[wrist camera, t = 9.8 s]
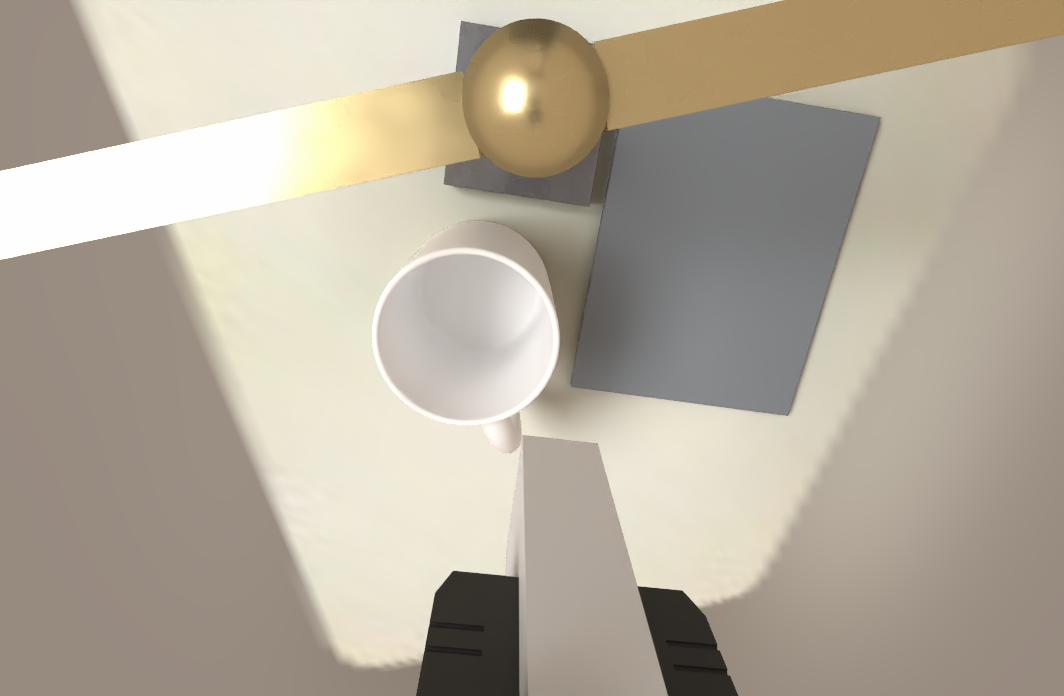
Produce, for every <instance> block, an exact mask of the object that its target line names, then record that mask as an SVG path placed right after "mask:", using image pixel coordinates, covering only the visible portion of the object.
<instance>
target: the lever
mask: <svg viewBox="0 0 1064 696" xmlns="http://www.w3.org/2000/svg"><path fill="white" fill-rule="evenodd" d="M1062 34H1064V0H784V1H780V2H775V3H771V4H766V5H761V6H757V7H752V8H748V9H743V10H738V11H734V12H729V13H725V14H720V15H716V16H711V17H706V18H702V19H697V20H693V21H688V22H683V23H679V24H674V25H670V26H665V27H661V28H656V29H651V30H647V31H642V32H638V33H633V34H628V35H624V36H619V37H615V38H610V39H606V40H601V41H596V42H594V43H593V45H592V46H591V45H590V44H589V43H588V41H587V40H586V39H585V38H584V37H582V36H581V35H580V34H579V33H578V32H576V31H575V30H573V29H571V28H570V27H568V26H566V25H564V24H561V23H559V22H555V21H552V20H546V19H525V20H520V21H516V22H513V23H510V24H508V25H506V26H504V27H502V28H500V29H499V30H497V31H496V32H494V33H493V34H492V35H490V36H489V37H488V38H487V39H486V40H485V41H484V42H483V43H482V44H481V46H480V47H479V48H478V49H477V51H476V52H475V54H474V55H473V57H472V59H471V61H470V63H469V65H468V68H467V71H466V74H465V75H464V74H463V73H462V71H459V72H454V73H450V74H445V75H441V76H436V77H431V78H427V79H422V80H418V81H413V82H408V83H404V84H399V85H395V86H390V87H386V88H381V89H376V90H372V91H367V92H363V93H358V94H353V95H349V96H344V97H340V98H335V99H331V100H326V101H321V102H317V103H312V104H308V105H303V106H298V107H294V108H289V109H285V110H280V111H276V112H271V113H266V114H262V115H257V116H253V117H248V118H243V119H239V120H234V121H230V122H225V123H221V124H216V125H211V126H207V127H202V128H198V129H193V130H188V131H184V132H179V133H175V134H170V135H166V136H161V137H156V138H152V139H147V140H143V141H138V142H133V143H129V144H124V145H120V146H115V147H111V148H106V149H102V150H97V151H92V152H88V153H84V154H78V155H74V156H69V157H65V158H60V159H56V160H51V161H46V162H42V163H37V164H33V165H28V166H23V167H19V168H15V169H10V170H5V171H1V172H0V259H5V258H10V257H14V256H19V255H24V254H28V253H33V252H37V251H42V250H47V249H52V248H57V247H61V246H66V245H71V244H76V243H80V242H85V241H90V240H95V239H99V238H104V237H108V236H113V235H118V234H123V233H127V232H132V231H137V230H141V229H147V228H151V227H156V226H161V225H165V224H170V223H175V222H180V221H184V220H189V219H194V218H198V217H203V216H208V215H213V214H217V213H222V212H227V211H232V210H236V209H241V208H246V207H250V206H255V205H260V204H265V203H269V202H274V201H279V200H283V199H288V198H293V197H298V196H302V195H307V194H312V193H317V192H321V191H326V190H331V189H335V188H340V187H345V186H350V185H354V184H359V183H364V182H368V181H373V180H378V179H383V178H387V177H392V176H397V175H402V174H406V173H411V172H416V171H420V170H425V169H430V168H435V167H439V166H444V165H449V164H453V163H458V162H463V161H468V160H472V159H477V158H481V157H483V156H484V155H485V156H486V157H487V158H488V159H489V160H490V161H491V162H493V163H494V164H495V165H497V166H498V167H500V168H502V169H503V170H505V171H508V172H510V173H512V174H516V175H519V176H524V177H547V176H552V175H556V174H559V173H561V172H564V171H566V170H568V169H570V168H571V167H573V166H575V165H576V164H578V163H579V162H580V161H581V160H583V159H584V158H585V157H586V156H587V155H588V154H589V153H590V151H591V150H592V149H593V147H594V146H595V145H596V143H597V141H598V140H599V138H600V136H601V134H602V132H603V131H609V130H614V129H619V128H624V127H628V126H633V125H638V124H642V123H647V122H652V121H657V120H661V119H666V118H671V117H675V116H680V115H685V114H690V113H694V112H699V111H704V110H709V109H713V108H718V107H723V106H727V105H732V104H737V103H742V102H746V101H751V100H756V99H760V98H765V97H770V96H775V95H779V94H784V93H789V92H794V91H798V90H803V89H808V88H812V87H817V86H822V85H827V84H831V83H836V82H841V81H845V80H850V79H855V78H860V77H864V76H869V75H874V74H879V73H883V72H888V71H893V70H897V69H902V68H907V67H912V66H916V65H921V64H926V63H931V62H935V61H940V60H945V59H949V58H954V57H959V56H964V55H968V54H973V53H978V52H982V51H987V50H992V49H997V48H1001V47H1006V46H1011V45H1016V44H1020V43H1025V42H1030V41H1034V40H1039V39H1044V38H1048V37H1053V36H1058V35H1062ZM483 154H484V155H483Z"/></svg>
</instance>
